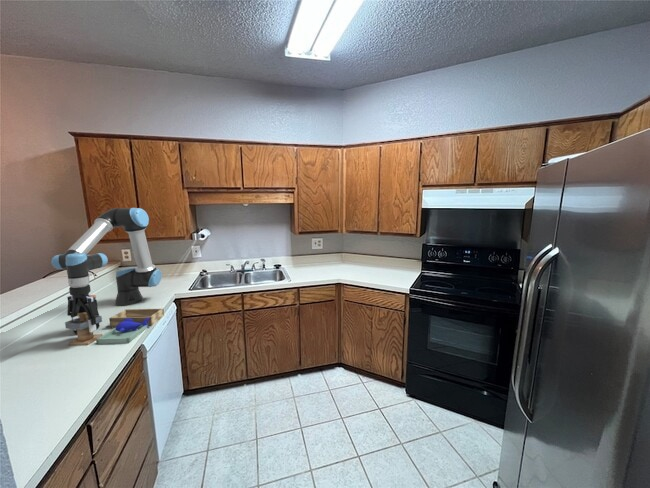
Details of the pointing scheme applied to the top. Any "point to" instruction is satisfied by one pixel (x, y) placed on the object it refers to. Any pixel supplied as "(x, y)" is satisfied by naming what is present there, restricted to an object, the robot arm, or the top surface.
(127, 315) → the crate
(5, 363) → the top surface
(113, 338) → the tray
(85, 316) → the handle
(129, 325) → the fish toy
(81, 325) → the gray rectangular frame
